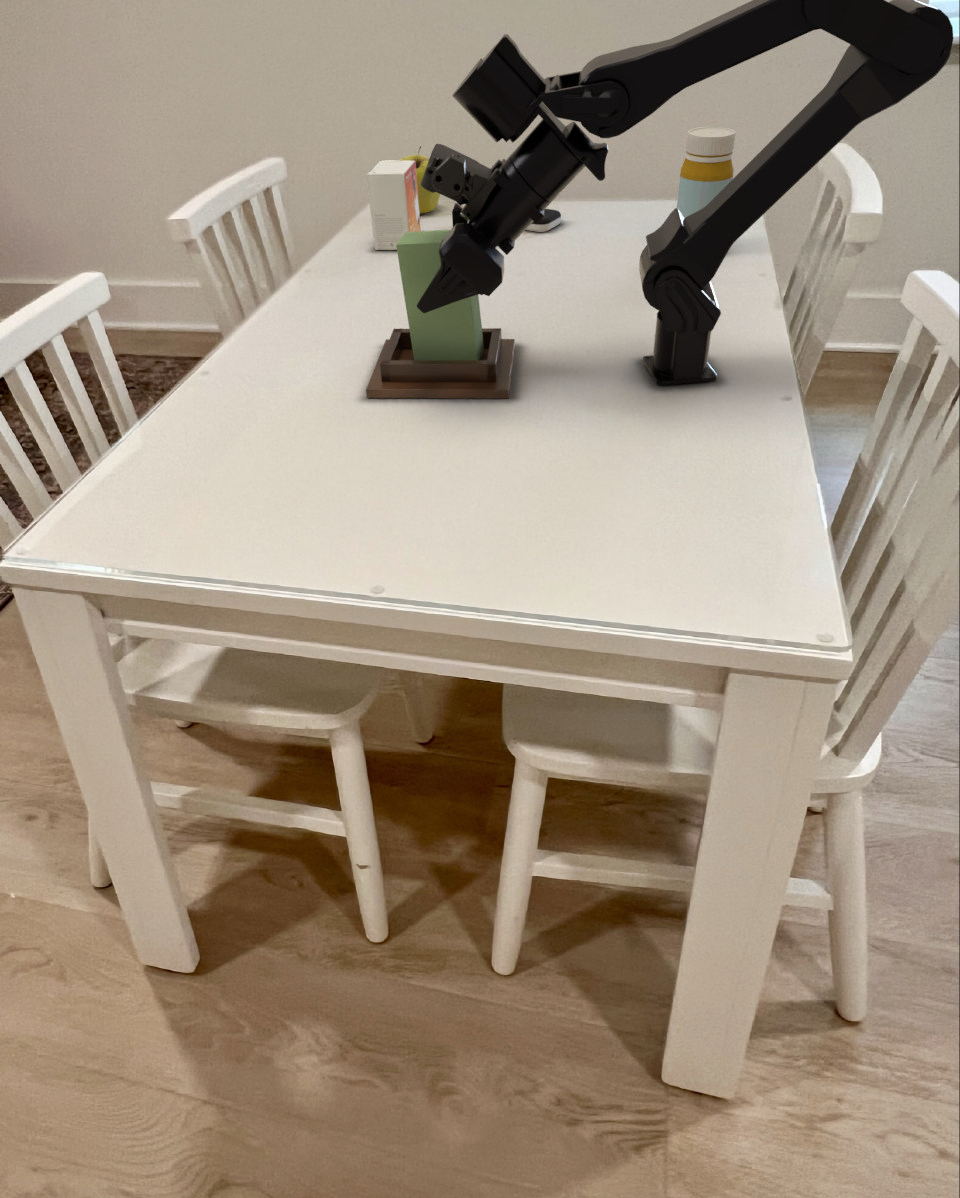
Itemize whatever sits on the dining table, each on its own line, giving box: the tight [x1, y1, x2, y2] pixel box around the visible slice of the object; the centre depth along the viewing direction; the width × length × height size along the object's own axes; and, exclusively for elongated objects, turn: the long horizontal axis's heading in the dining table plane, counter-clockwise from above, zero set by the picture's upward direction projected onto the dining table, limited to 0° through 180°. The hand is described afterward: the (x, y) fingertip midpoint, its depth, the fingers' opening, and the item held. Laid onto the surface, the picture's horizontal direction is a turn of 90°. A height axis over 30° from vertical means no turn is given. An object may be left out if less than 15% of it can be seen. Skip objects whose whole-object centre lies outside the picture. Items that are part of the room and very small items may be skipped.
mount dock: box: [365, 327, 516, 399], centre depth 97 cm, size 15×13×3 cm
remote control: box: [525, 208, 562, 233], centre depth 138 cm, size 6×13×2 cm, turn 58°
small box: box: [365, 159, 422, 251], centre depth 130 cm, size 8×6×10 cm
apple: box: [399, 145, 441, 214], centre depth 142 cm, size 8×8×10 cm
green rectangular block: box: [396, 229, 484, 360], centre depth 94 cm, size 4×7×13 cm, turn 80°
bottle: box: [676, 126, 736, 218], centre depth 121 cm, size 7×7×15 cm
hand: (425, 294), depth 93 cm, fingers open, 8 cm apart
